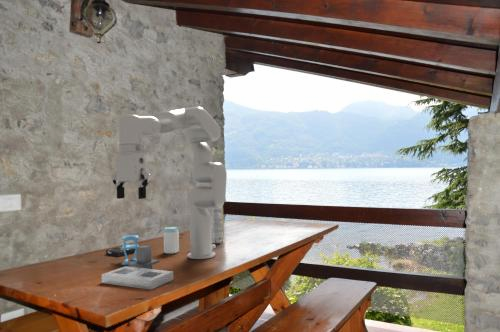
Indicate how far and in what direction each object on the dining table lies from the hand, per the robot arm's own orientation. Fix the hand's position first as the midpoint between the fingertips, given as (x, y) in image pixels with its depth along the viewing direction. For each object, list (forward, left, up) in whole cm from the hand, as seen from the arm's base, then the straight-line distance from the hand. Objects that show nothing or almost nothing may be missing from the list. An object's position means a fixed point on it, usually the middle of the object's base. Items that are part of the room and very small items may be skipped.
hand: (131, 198), depth 136 cm
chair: (-24, -23, -30) cm, 45 cm away
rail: (-2, 0, -30) cm, 30 cm away
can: (-45, -17, -30) cm, 57 cm away
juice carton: (-74, -10, -30) cm, 81 cm away
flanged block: (-15, -8, -30) cm, 34 cm away
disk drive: (-38, -39, -31) cm, 62 cm away
